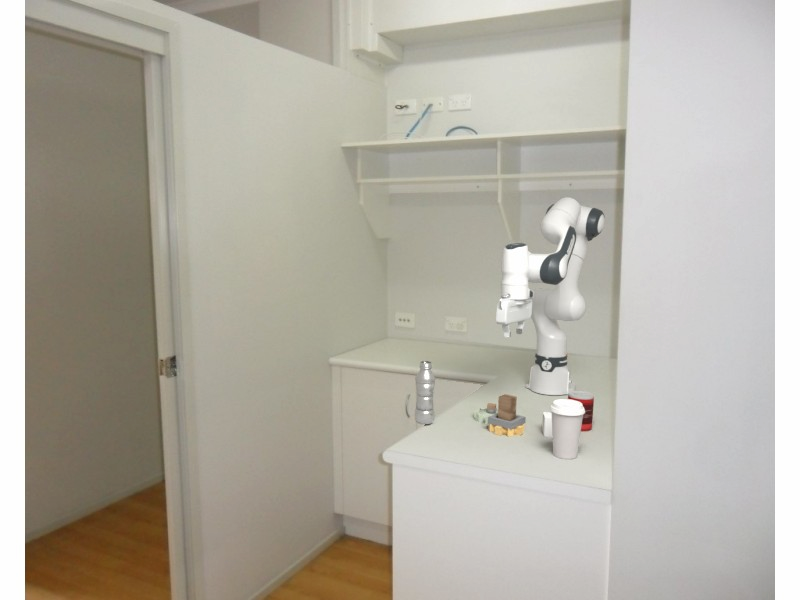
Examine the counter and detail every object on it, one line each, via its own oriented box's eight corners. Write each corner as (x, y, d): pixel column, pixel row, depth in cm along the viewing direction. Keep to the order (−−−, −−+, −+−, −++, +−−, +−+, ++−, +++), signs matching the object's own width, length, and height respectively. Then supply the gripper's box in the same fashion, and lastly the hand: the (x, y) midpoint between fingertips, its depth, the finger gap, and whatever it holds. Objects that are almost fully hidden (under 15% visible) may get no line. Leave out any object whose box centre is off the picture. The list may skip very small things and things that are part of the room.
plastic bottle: (436, 421, 205) (438, 360, 202) (431, 427, 199) (433, 365, 196) (417, 419, 207) (418, 359, 204) (411, 425, 200) (413, 363, 198)
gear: (478, 412, 214) (478, 398, 214) (510, 416, 211) (510, 401, 210) (471, 422, 204) (471, 407, 204) (504, 426, 201) (505, 411, 200)
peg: (504, 420, 199) (505, 394, 198) (515, 423, 197) (516, 396, 196) (497, 423, 196) (498, 396, 195) (508, 426, 194) (509, 399, 193)
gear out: (500, 422, 204) (501, 409, 204) (530, 430, 198) (531, 416, 197) (482, 430, 196) (482, 417, 196) (512, 439, 189) (513, 424, 189)
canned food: (572, 422, 207) (574, 389, 205) (596, 427, 202) (598, 393, 200) (562, 427, 201) (563, 394, 199) (586, 433, 196) (588, 398, 194)
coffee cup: (540, 454, 178) (543, 402, 176) (559, 446, 184) (561, 396, 182) (571, 464, 171) (574, 410, 169) (589, 455, 177) (592, 403, 175)
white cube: (564, 438, 191) (565, 419, 191) (544, 437, 192) (544, 418, 191) (561, 431, 197) (562, 412, 196) (542, 430, 198) (542, 411, 197)
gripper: (509, 296, 195) (508, 340, 197) (535, 292, 212) (534, 332, 213) (491, 294, 199) (490, 338, 200) (518, 291, 216) (517, 331, 217)
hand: (513, 335), depth 207 cm, fingers open, 8 cm apart
